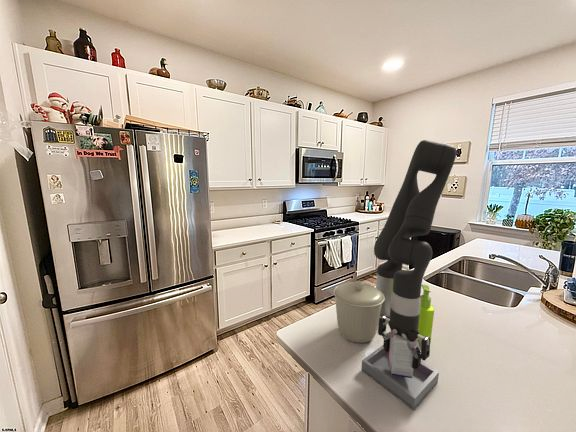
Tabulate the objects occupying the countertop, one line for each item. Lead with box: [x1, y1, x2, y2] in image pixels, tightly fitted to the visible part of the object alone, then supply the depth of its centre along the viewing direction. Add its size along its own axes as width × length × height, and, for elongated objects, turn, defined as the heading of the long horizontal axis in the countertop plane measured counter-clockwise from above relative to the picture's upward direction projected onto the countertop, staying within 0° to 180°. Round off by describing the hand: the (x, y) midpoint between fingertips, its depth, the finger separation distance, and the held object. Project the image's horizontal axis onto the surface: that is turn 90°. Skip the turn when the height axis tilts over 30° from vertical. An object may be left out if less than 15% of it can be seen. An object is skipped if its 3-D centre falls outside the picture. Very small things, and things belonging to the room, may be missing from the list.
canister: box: [332, 280, 385, 344], centre depth 89 cm, size 18×18×21 cm
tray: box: [361, 344, 440, 411], centre depth 71 cm, size 16×14×4 cm
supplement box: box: [388, 334, 416, 378], centre depth 70 cm, size 6×6×12 cm
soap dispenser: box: [417, 284, 435, 344], centre depth 87 cm, size 6×7×20 cm
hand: (400, 358), depth 71 cm, fingers closed on supplement box, 8 cm apart
